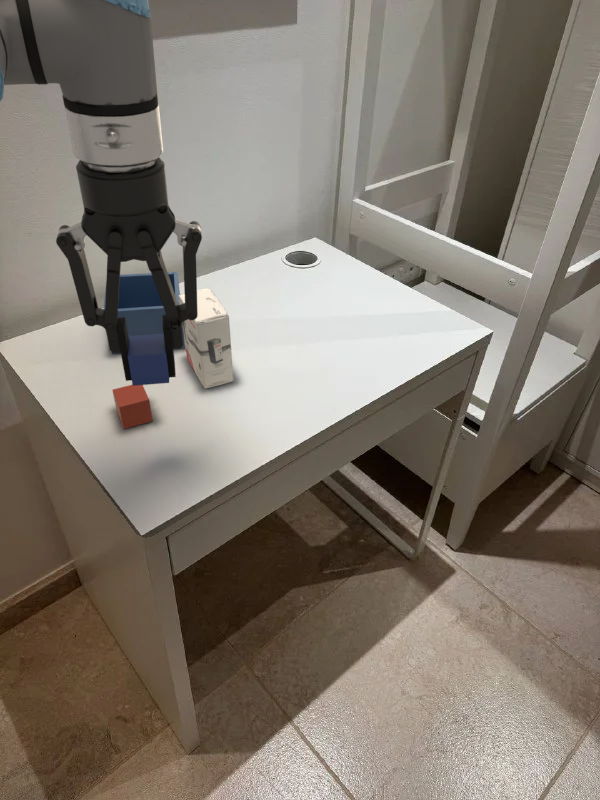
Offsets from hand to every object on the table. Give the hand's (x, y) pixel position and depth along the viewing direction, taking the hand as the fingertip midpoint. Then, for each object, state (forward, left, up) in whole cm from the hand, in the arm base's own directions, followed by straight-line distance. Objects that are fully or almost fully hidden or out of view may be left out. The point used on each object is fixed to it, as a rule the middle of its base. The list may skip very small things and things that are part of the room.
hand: (150, 371), depth 65 cm
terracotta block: (-4, +9, -14) cm, 17 cm away
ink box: (+7, +18, -14) cm, 24 cm away
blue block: (0, 0, 0) cm, 0 cm away
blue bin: (-2, +30, -14) cm, 33 cm away
